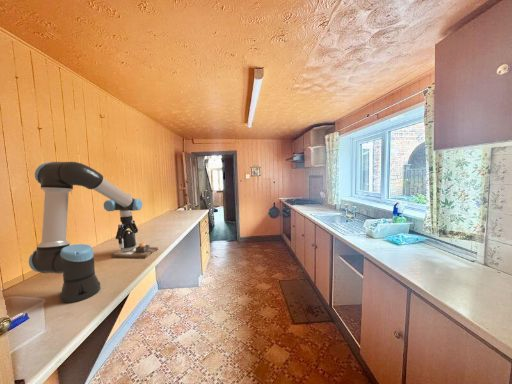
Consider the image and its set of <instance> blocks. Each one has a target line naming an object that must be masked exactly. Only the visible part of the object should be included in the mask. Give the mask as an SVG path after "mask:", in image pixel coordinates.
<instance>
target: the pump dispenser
mask: <svg viewBox="0 0 512 384" xmlns="http://www.w3.org/2000/svg"><path fill="white" fill-rule="evenodd" d="M133 233H134V231H133V232H132V231H131V230H130V229H127V230H126V231H125V233H124V235H123V237H122V239H123V244H124V248H120V250H122V251H124V252H129V251H132V250H133V249H134V248H135V247H137V246H136V245H137V239H136V240H135V237H134V235H133Z"/></svg>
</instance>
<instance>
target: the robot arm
mask: <svg viewBox="0 0 512 384" xmlns="http://www.w3.org/2000/svg"><path fill="white" fill-rule="evenodd" d="M34 178H35V180H36V181H37V183H38V184H40V190H42V191H43V192H44V201H43V202H44V203H43V214H42V231H41V242H40V243H38V244H37V245H36V249H35V250H34V251H33V252H32V254H30V256H29V259H28V265H29V267H30V269H31V270H32V271H34V272H37V273H41V274H61V275H62V278H63V279H62V280H63V283H62V288H61V291H60V294H59V301H60V302H61V303H64V304H70V303H77V302H80V301H83V300H87V299H88V298H91V297H94V296H95V295H96V294H98V293H99V292H100V290H101V283H100V281H99V279H98V277H97V275H96V272H95V268H96V267H95V253H94V249H93V247H92V246H91V245H89V244H85V243H78V244H71V243H70V242H69V241H68V240H67V231H68V230H67V227H68V212H69V210H68V208H69V194H70V193H71V192H72V191H73V190H74V186H78V187H84V188H86V189H87V190H94V191H95V192H97V193H98V194H101V195H102V196H104V197H106V198H107V200H105V201H104V203H103V208H104V210H105V211H106V212H114V211H119V216H120V217H119V221H120V222H121V224H118V227H117V232H116V236H115V240H118V248H119V249H121V248H124V244H123V239H122V237H123V235H124V233H125V231H126V230H130V231H131V232H133V231H134V233H133V235H134V237H135V240H136V241H137V233H138V232H139V229H138V227H137V224H136V222H135V220H133V211H134V212H135V211H140V210H141V209H142V208H143V201H142V200H141V198H140V199H139V198H133V197H132V195H131V194H128V193H126V192H124V191H123V190H122V189H120V188H118V187H117V186H116V185H114V184H113V183H111V182H110V181H108V180H107V179H105V178H104V175H103V174H102V173H100V172H99V171H97V170H95V169H94V168H92V167H90V166H88V165H86V164H84V163H81V162H76V161H50V162H45V163H41V164H40V165H39V166H38V167H37V168H36V169H35V171H34ZM70 244H71V245H70Z"/></svg>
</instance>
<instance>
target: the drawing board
mask: <svg viewBox="0 0 512 384" xmlns="http://www.w3.org/2000/svg"><path fill="white" fill-rule="evenodd" d="M157 250H158V251H159V247H158V246H155V247H154V246H153V247H152V246H151V245H150V244H146V247H144V248H140V246H135V248H134V249H133V250H132V251H129V252H124V251H122V250H121V249H120V250H118V251H115V252H114V253H112V254H111V255H110V256H111V259H145V258H146V259H147V258H149V257H150V256H152V255H153V254H155V253H156V252H158V251H157ZM155 251H156V252H155ZM154 252H155V253H154ZM152 253H153V254H152ZM151 254H152V255H151ZM148 256H149V257H148Z"/></svg>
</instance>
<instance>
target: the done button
mask: <svg viewBox="0 0 512 384" xmlns="http://www.w3.org/2000/svg"><path fill="white" fill-rule="evenodd" d="M138 245H139V246H140V248H144V247H146V245H147V244H146V242H141V243H139V244H138Z"/></svg>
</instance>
